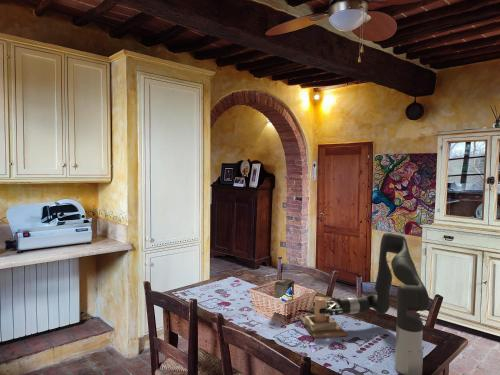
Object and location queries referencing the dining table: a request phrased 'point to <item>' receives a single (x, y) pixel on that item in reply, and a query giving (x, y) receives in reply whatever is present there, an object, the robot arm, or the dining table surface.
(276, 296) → the coffee box
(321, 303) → the tan wooden cylinder
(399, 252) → the robot arm
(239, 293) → the dining table surface
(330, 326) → the dock
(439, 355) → the dining table surface
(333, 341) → the dining table surface
